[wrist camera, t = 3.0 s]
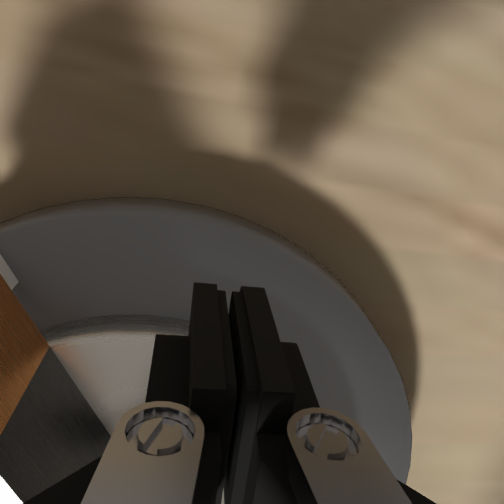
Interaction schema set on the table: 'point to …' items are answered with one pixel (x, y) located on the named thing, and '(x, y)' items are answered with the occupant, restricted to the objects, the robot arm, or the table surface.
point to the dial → (67, 390)
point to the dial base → (214, 272)
